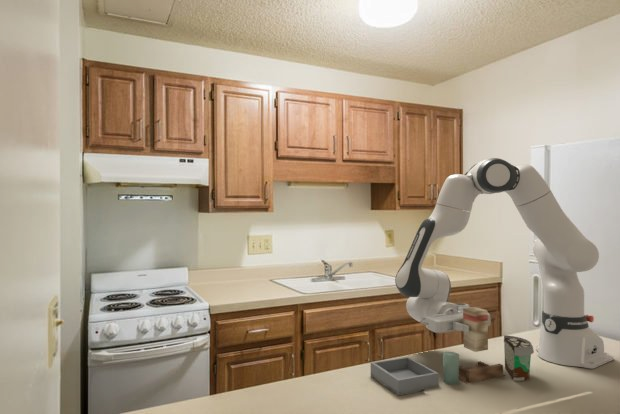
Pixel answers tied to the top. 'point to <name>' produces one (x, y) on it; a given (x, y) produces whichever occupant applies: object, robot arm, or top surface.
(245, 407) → the top surface
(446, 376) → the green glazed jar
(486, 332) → the birch block
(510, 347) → the food container
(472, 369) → the walnut rack
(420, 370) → the grey tray
